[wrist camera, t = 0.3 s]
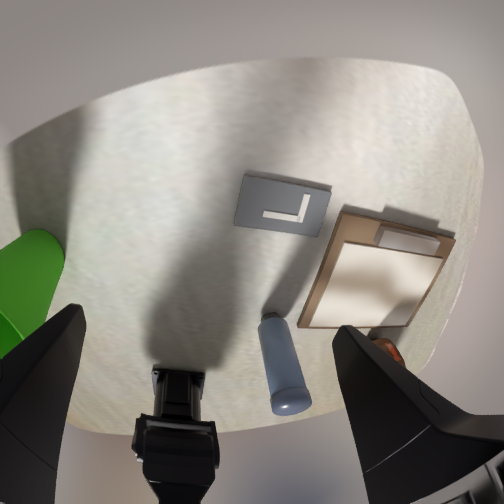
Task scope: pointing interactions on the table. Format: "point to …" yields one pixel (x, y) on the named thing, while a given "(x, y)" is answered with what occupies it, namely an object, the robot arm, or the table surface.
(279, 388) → the cylinder
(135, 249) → the table surface
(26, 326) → the cup
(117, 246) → the table surface
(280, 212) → the letter tile
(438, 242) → the clipboard
